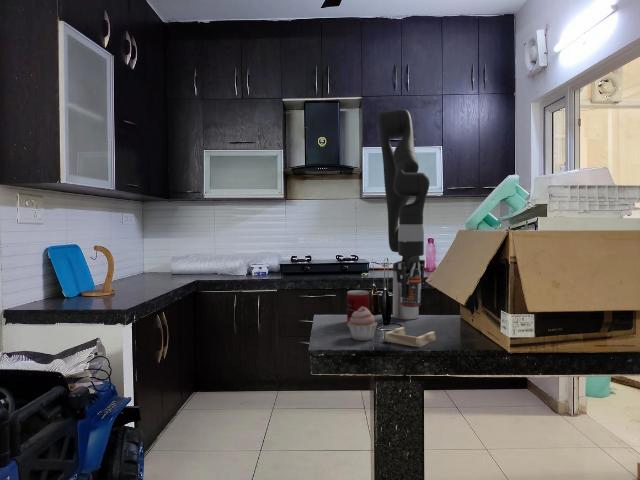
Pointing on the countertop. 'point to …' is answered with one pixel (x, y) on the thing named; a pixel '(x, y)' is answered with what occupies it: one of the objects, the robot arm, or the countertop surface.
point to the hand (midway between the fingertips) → (410, 295)
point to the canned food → (356, 301)
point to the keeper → (408, 338)
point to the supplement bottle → (413, 291)
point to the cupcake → (362, 325)
